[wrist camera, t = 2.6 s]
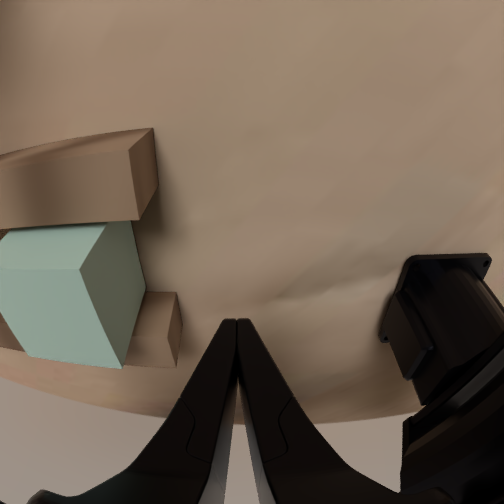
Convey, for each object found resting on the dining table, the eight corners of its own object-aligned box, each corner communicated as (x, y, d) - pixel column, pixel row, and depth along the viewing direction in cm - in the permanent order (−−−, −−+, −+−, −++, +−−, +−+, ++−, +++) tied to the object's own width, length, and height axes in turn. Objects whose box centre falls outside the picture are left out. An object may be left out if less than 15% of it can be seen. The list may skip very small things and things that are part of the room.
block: (126, 196, 12) (78, 269, 8) (146, 287, 15) (122, 368, 11) (35, 204, 12) (-23, 268, 8) (64, 286, 15) (28, 356, 11)
